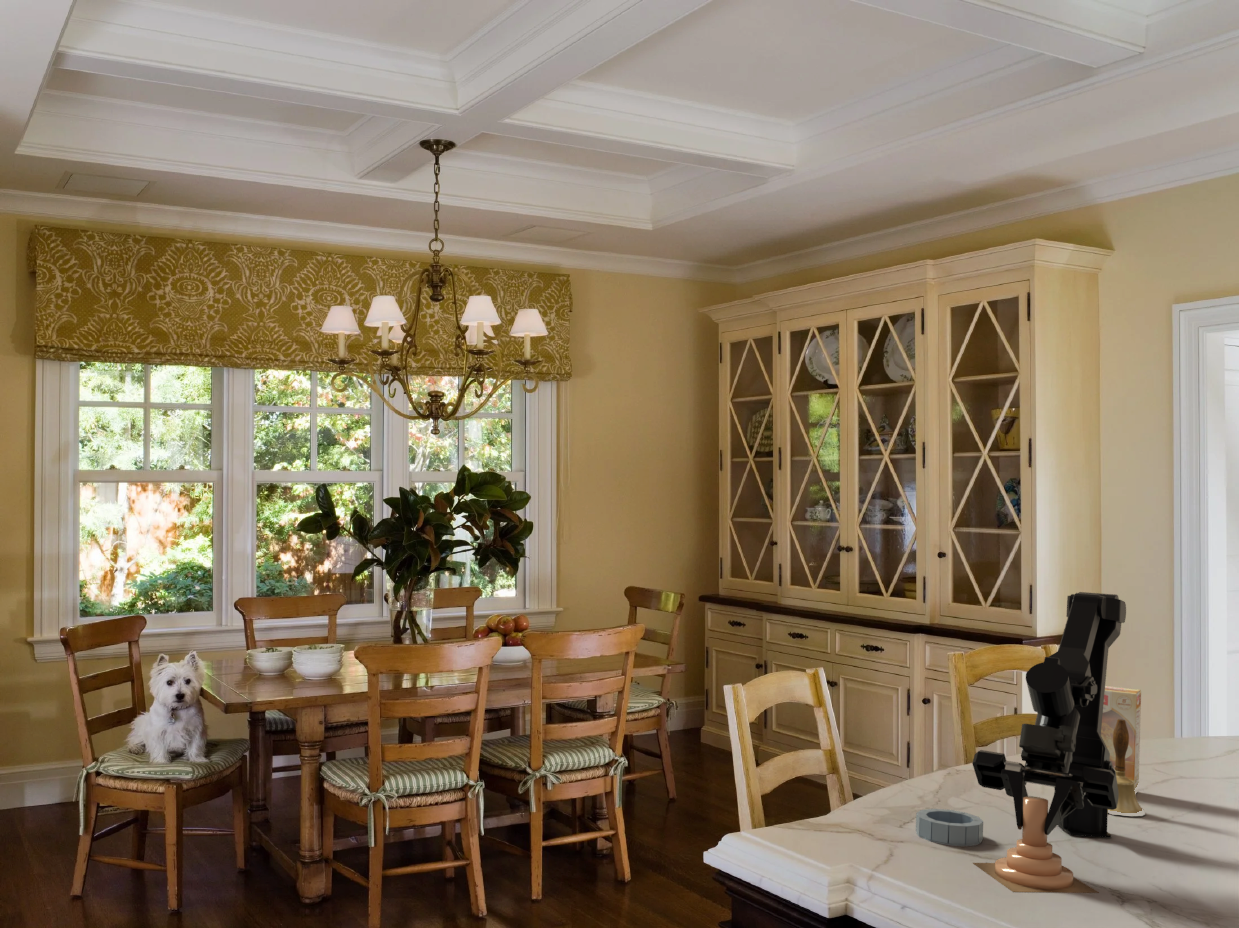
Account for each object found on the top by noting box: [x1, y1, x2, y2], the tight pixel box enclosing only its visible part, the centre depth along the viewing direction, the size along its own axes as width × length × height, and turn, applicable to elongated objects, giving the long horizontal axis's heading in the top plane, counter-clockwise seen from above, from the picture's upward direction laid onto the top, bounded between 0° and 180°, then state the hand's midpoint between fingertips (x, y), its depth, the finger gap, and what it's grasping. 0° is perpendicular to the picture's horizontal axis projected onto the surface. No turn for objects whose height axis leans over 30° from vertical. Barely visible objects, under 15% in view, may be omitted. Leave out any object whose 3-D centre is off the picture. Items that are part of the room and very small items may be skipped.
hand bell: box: [1108, 719, 1143, 813], centre depth 191 cm, size 8×8×16 cm
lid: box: [994, 795, 1074, 889], centre depth 149 cm, size 10×10×10 cm
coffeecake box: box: [1101, 685, 1142, 790], centre depth 208 cm, size 15×7×20 cm, turn 58°
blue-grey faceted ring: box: [915, 808, 984, 847], centre depth 167 cm, size 10×10×4 cm
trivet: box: [972, 862, 1100, 894], centre depth 149 cm, size 12×12×1 cm
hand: (1032, 830), depth 148 cm, fingers closed on lid, 3 cm apart
